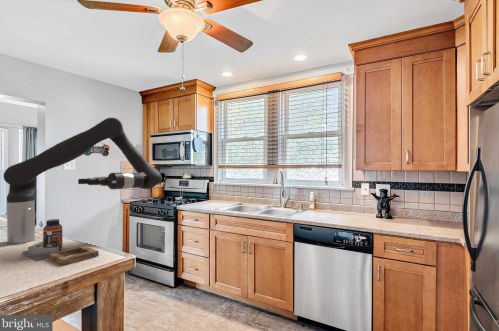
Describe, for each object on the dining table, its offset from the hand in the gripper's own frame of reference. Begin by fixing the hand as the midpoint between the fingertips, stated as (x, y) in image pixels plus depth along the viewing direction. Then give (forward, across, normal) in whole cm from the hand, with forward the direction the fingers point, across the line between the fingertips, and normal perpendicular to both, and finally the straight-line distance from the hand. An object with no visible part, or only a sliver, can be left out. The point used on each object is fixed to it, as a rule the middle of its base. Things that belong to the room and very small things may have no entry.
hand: (83, 181), depth 112 cm
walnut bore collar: (+9, +14, +26) cm, 31 cm away
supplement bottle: (+10, 0, +26) cm, 28 cm away
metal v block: (+13, 0, +26) cm, 29 cm away
